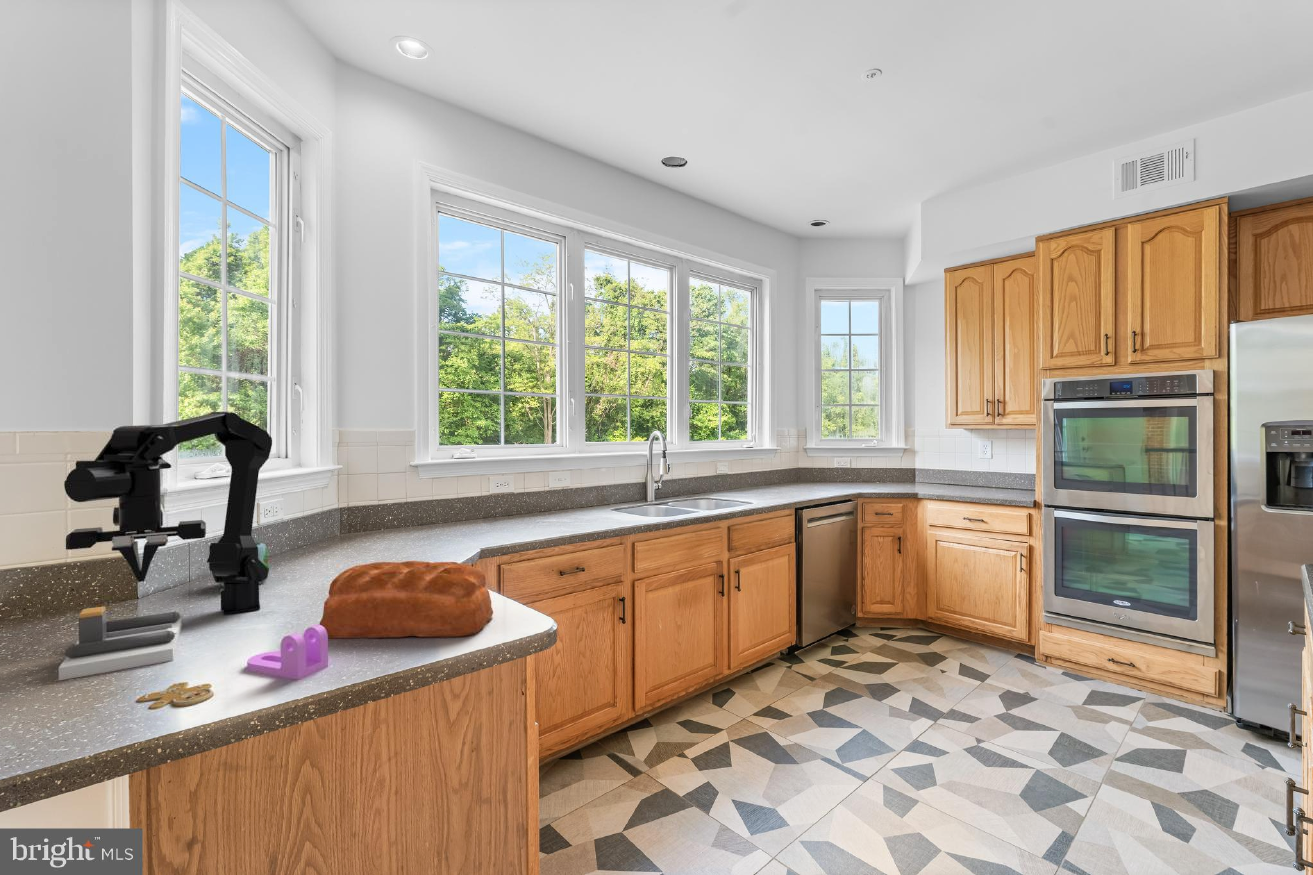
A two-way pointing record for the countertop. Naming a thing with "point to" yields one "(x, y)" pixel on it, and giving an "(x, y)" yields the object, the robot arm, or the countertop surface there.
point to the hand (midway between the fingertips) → (141, 581)
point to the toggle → (92, 625)
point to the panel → (120, 658)
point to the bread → (407, 601)
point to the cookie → (179, 695)
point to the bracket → (295, 655)
